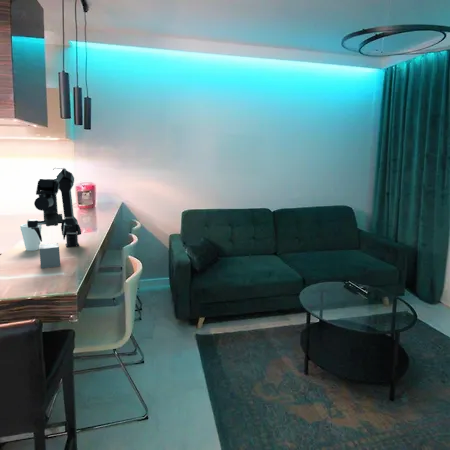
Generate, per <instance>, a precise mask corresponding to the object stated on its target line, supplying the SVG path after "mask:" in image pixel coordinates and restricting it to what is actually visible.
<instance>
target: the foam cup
mask: <svg viewBox="0 0 450 450" xmlns="http://www.w3.org/2000/svg"><path fill="white" fill-rule="evenodd" d="M39 228H40V233H41V234H42V229H43V228H42V225H39ZM19 229H20V232H21V235H22V239H23V242H24V243H23V244H24V247H25V250H26V251H30V252H31V251H33V252H34V251H37V250H39V245H41V241H40V238H39V236H38V234H37V233H36V231H35V230H34V229H31V228H28V225H27V223H23V224H20V228H19Z"/></svg>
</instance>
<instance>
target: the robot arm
mask: <svg viewBox="0 0 450 450" xmlns="http://www.w3.org/2000/svg"><path fill="white" fill-rule="evenodd" d="M74 183H75V177H74V175H73V173H72V172H70V171H68V170H67V169H66V168H65V167H54V168H53V169H52V171H51V172H50V174H49V175H48V176H44V177H40V178H39V180H38V181H37V186H36V191H35V195H37V196H38V197H36V199H35V200H34V207H35V208H36V209H37V210H39V211H41V212H43V213H42V214H43V220H38V218H29V219H27V221H26V224H27V225H28V228H31V229H34V230H35V231H36V233H37V234H38V236H39V238H40V243H41V242H43V238H42V232H41V233H40V228H39V225H41V226H42V225H45V226H46V227H57V226H58V225H59V224H61V225H60V229H61V235H62V237H63V238H62V239H63V240H66V243H65V247H66V248H70V247H79V246H80V244H79V238H78V236H80V235H82V229H81V227H80V224H79V222H78V219H77V218H76V217H75V216H74V207H73V198H72V189H73V187H74ZM59 191H60V193H61V200H62V201H61V202H62V208H63V214H62V213H59V212H58V199H57V194H58V193H59Z"/></svg>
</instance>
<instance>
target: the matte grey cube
mask: <svg viewBox="0 0 450 450" xmlns="http://www.w3.org/2000/svg"><path fill="white" fill-rule="evenodd" d="M38 250H39V262H40V269H47V268H56V267H61V256H60V246H59V243H58V242H57V243H56V242H55V243H45V244H44V243H43V244H40V245H39V249H38Z"/></svg>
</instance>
